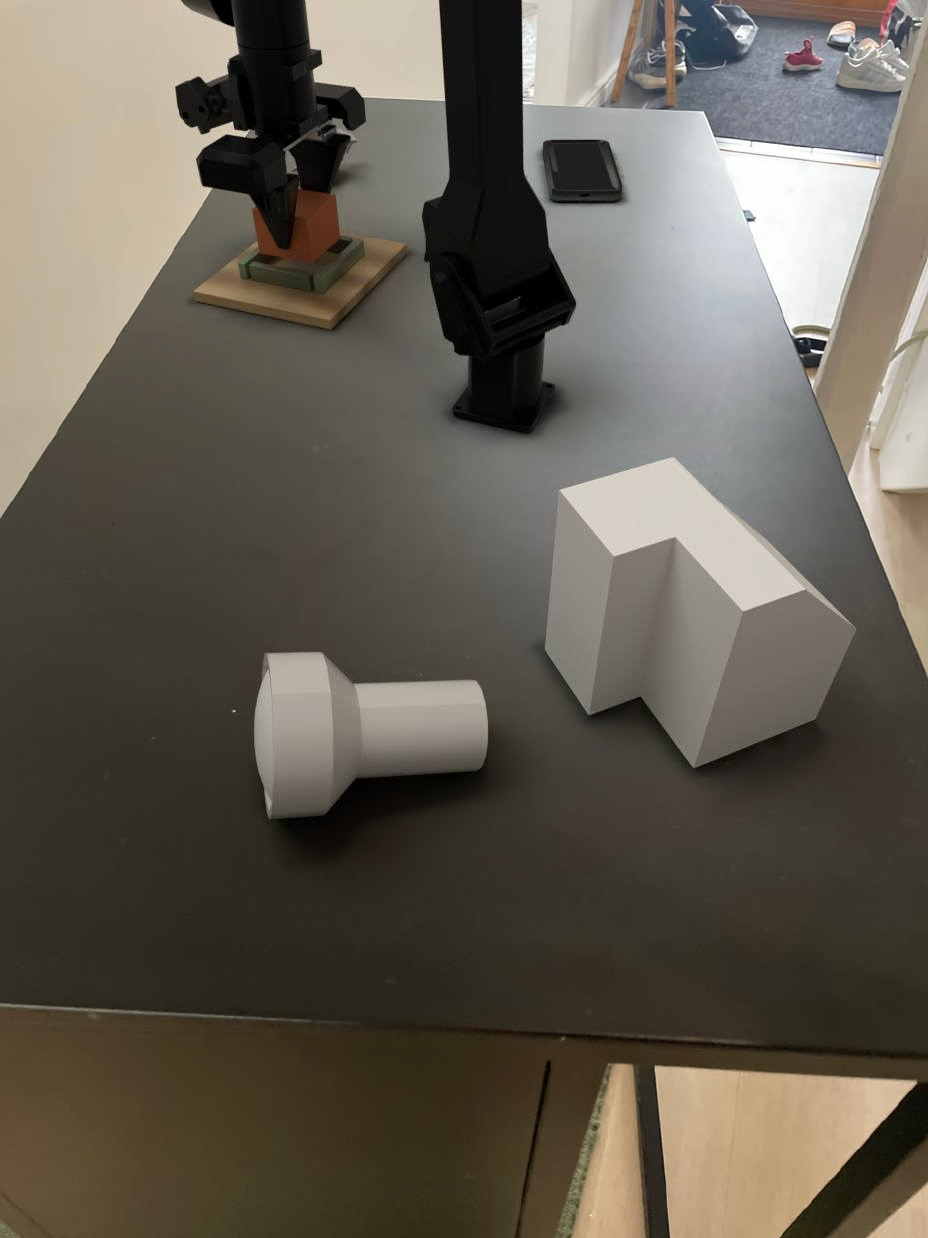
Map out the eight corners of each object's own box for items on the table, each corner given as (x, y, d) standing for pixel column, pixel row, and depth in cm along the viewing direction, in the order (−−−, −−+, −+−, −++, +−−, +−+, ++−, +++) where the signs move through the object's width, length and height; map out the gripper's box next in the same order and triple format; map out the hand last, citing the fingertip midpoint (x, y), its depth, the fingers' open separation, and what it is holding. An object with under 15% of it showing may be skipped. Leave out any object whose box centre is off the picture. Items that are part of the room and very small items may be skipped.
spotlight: (248, 702, 50) (255, 620, 43) (449, 694, 53) (483, 617, 46) (255, 845, 45) (263, 777, 39) (473, 827, 48) (514, 762, 42)
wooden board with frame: (331, 330, 80) (328, 303, 78) (195, 301, 83) (189, 274, 81) (407, 253, 90) (406, 227, 88) (283, 230, 93) (279, 205, 92)
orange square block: (312, 263, 82) (306, 218, 79) (259, 253, 83) (251, 208, 80) (340, 238, 85) (336, 194, 82) (289, 228, 87) (282, 185, 84)
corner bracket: (544, 649, 54) (559, 489, 45) (705, 594, 57) (748, 434, 48) (639, 790, 47) (677, 634, 38) (815, 719, 50) (888, 559, 42)
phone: (608, 139, 107) (623, 190, 97) (607, 149, 108) (622, 201, 98) (541, 139, 107) (549, 190, 97) (540, 149, 108) (549, 201, 98)
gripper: (247, 1, 80) (275, 184, 92) (116, 61, 68) (166, 263, 80) (361, 13, 77) (374, 201, 89) (244, 79, 65) (277, 286, 77)
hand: (299, 235), depth 84 cm, fingers closed on orange square block, 5 cm apart
